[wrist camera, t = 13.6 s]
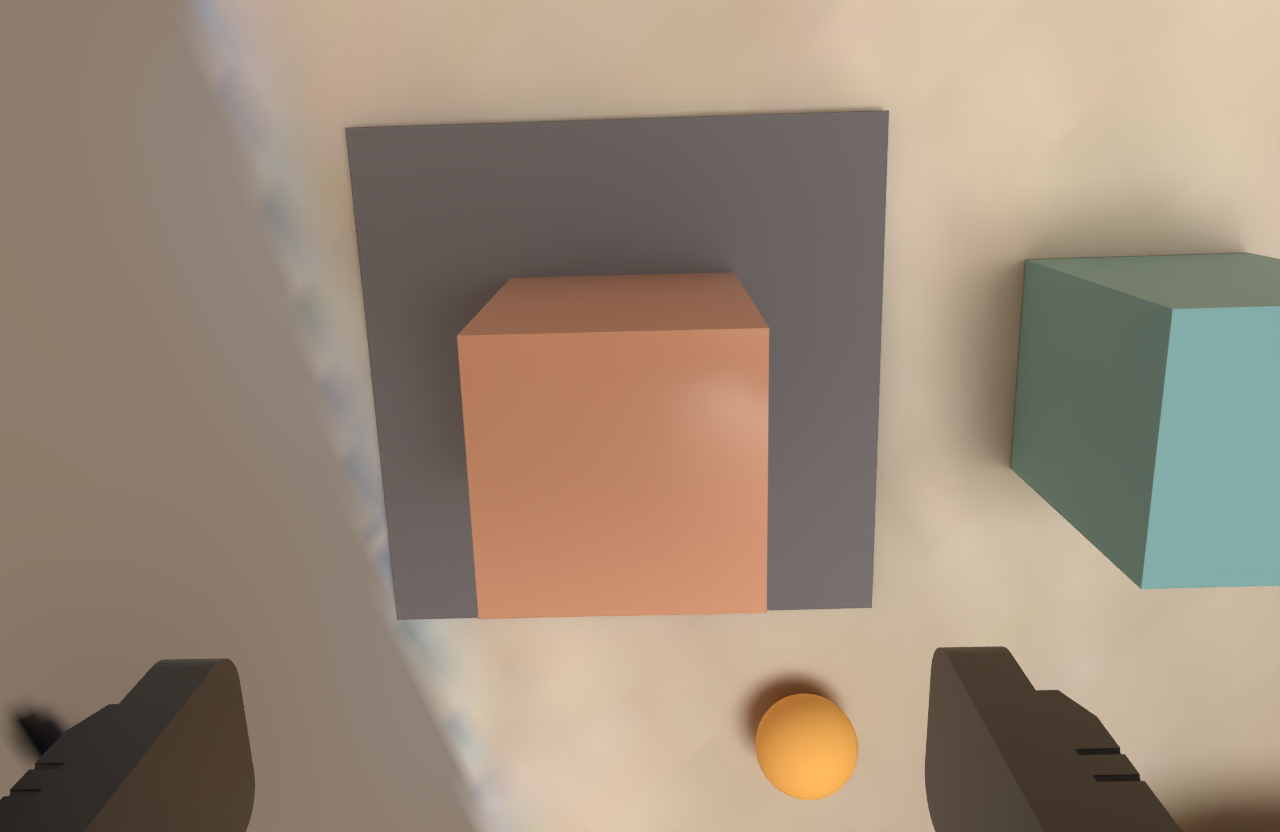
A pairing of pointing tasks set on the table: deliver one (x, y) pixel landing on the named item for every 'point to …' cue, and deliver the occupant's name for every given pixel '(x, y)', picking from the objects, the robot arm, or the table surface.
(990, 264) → the table surface
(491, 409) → the salmon pink cube
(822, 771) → the orange ball
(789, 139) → the charcoal mat
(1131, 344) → the seafoam square box
